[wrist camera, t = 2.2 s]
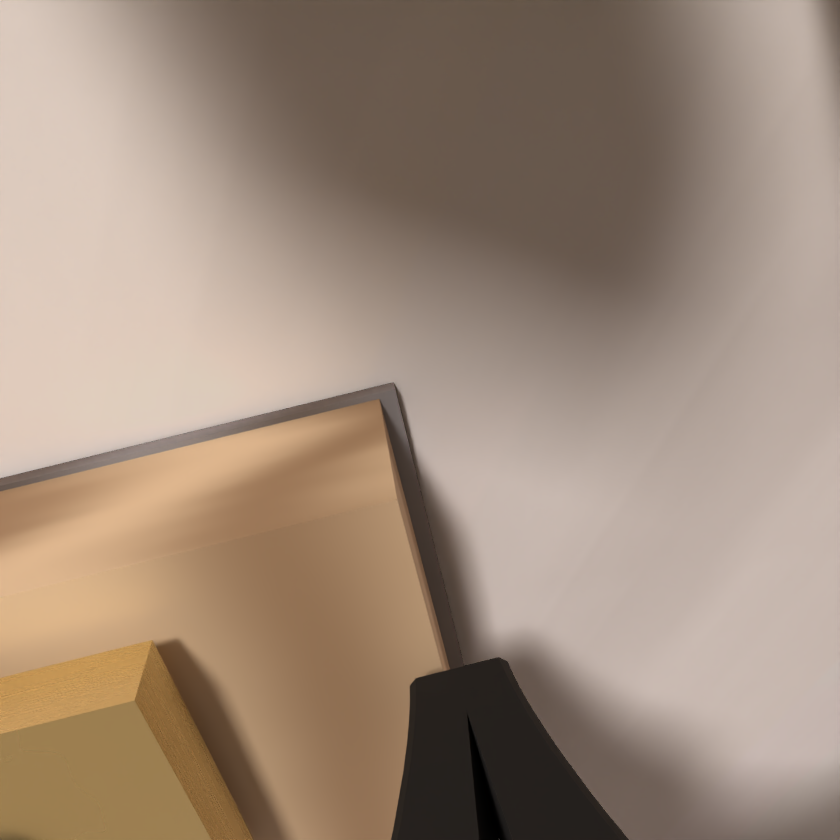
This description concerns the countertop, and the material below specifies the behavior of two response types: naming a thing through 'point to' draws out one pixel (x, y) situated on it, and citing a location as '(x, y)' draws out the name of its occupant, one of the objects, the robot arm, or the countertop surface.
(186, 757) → the lever cap
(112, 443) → the countertop surface
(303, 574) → the body
